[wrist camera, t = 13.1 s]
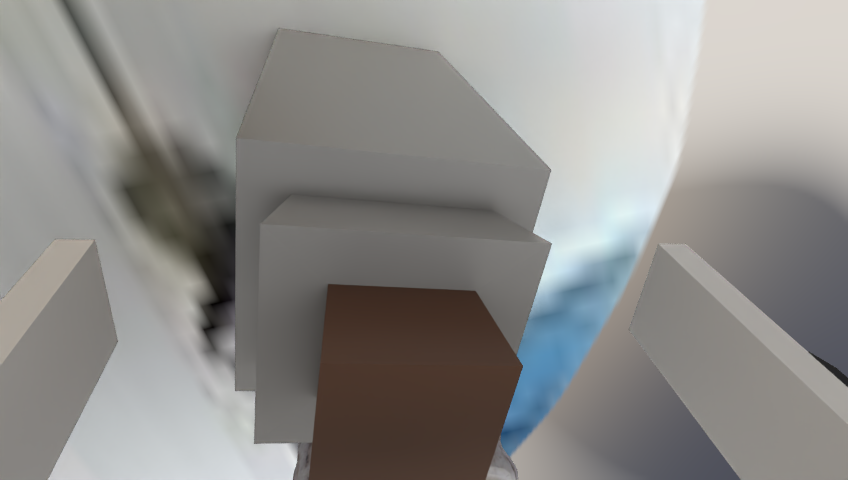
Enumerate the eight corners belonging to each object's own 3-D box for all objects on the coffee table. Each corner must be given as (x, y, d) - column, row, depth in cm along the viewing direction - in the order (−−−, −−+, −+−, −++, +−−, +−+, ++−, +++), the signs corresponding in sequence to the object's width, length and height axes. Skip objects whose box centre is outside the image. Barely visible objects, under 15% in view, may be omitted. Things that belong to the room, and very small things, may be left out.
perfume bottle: (278, 28, 22) (189, 255, 7) (438, 51, 24) (657, 281, 8) (272, 180, 25) (202, 568, 10) (414, 192, 27) (541, 545, 12)
